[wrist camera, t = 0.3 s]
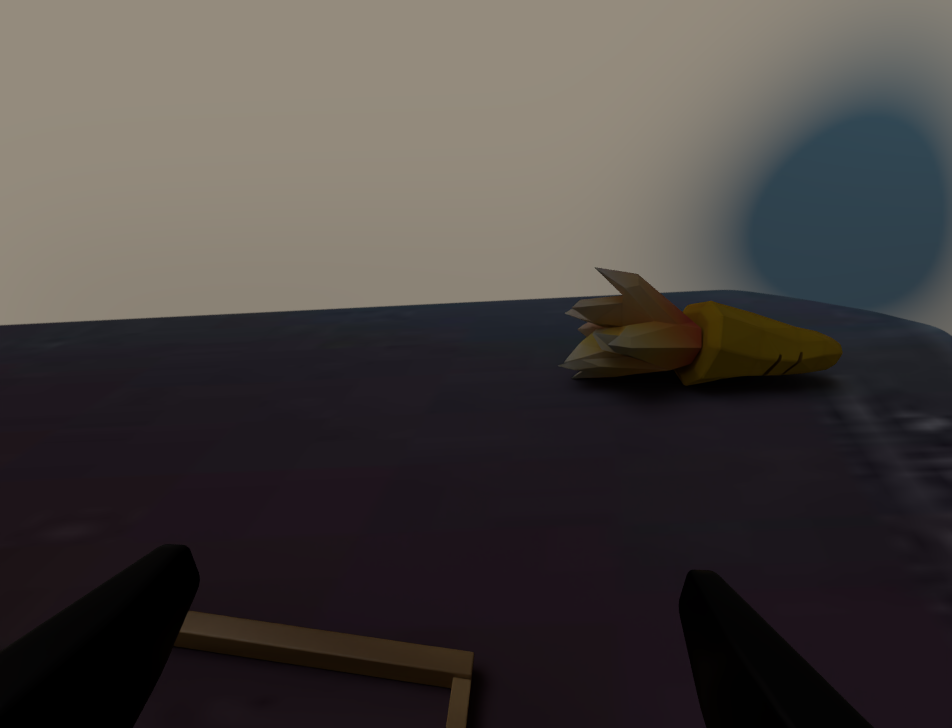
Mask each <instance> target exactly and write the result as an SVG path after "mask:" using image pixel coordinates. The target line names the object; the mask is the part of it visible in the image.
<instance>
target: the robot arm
mask: <svg viewBox="0 0 952 728" xmlns="http://www.w3.org/2000/svg"><path fill="white" fill-rule="evenodd" d="M199 581H200V576H199V572H198V569H197V567H196V564H195V561H194V559H193V556H192V553H191V551H190V549H189V548H188V547H187V546H186V545H174V544H166V545H162V546H160V547H158V548H156V549H155V550H153V551H152V552H150V553H149V554H147V555H146V556H144V557H143V558H141V559H140V560H138V561H137V562H135V563H134V564H132V565H131V566H129V567H128V568H126V569H125V570H123V571H121V572H120V573H118V574H117V575H115V576H114V577H112V578H111V579H109V580H108V581H106V582H105V583H103V584H102V585H100V586H99V587H97V588H96V589H94V590H93V591H91V592H90V593H88V594H87V595H85V596H84V597H82V598H80V599H79V600H77V601H76V602H74V603H73V604H71V605H70V606H68V607H67V608H65V609H64V610H62V611H61V612H59V613H58V614H56V615H55V616H53V617H52V618H50V619H49V620H47V621H46V622H44V623H42V624H41V625H39V626H38V627H36V628H35V629H33V630H32V631H30V632H29V633H27V634H26V635H24V636H23V637H21V638H20V639H18V640H17V641H15V642H14V643H12V644H11V645H9V646H8V647H6V648H5V649H3V650H1V651H0V728H133V726H134V724H135V723H136V721H137V719H138V717H139V715H140V713H141V711H142V710H143V708H144V706H145V704H146V702H147V700H148V698H149V697H150V695H151V693H152V691H153V689H154V687H155V685H156V683H157V681H158V679H159V677H160V675H161V673H162V671H163V669H164V666H165V664H166V662H167V660H168V658H169V655H170V653H171V651H172V648H173V646H174V644H175V641H176V639H177V637H178V634H179V632H180V630H181V627H182V625H183V623H184V620H185V618H186V616H187V613H188V611H189V609H190V606H191V604H192V602H193V599H194V597H195V594H196V592H197V590H198V587H199ZM679 614H680V619H681V623H682V628H683V632H684V637H685V641H686V646H687V650H688V655H689V659H690V664H691V668H692V673H693V677H694V682H695V686H696V691H697V695H698V699H699V703H700V707H701V711H702V714H703V718H704V721H705V724H706V728H874V727H873V726H872V725H871V724H870V723H869V722H868V721H866V720H865V719H864V718H863V717H862V716H861V715H860V714H859V713H858V712H857V711H856V710H855V709H854V708H853V707H852V706H851V705H850V704H849V703H848V702H847V701H846V700H845V699H844V698H843V697H842V696H841V695H840V694H839V693H838V692H837V691H836V690H835V689H834V688H833V687H832V686H831V685H830V684H829V683H828V682H827V681H826V680H825V679H824V678H823V677H822V676H821V675H820V674H819V673H818V672H817V671H816V670H815V669H814V668H813V667H812V666H811V665H810V664H809V663H808V662H807V661H806V660H804V659H803V658H802V657H801V656H800V655H799V654H798V653H797V652H796V651H795V650H794V649H793V648H792V647H791V646H790V645H789V644H788V643H787V642H786V641H785V640H784V639H783V638H782V637H781V636H780V635H779V634H778V633H777V632H776V631H775V630H774V629H773V628H772V627H771V626H770V625H769V624H768V623H767V622H766V621H765V620H764V619H763V618H762V617H761V616H760V615H759V614H758V613H757V612H756V611H755V610H754V609H753V608H752V607H751V606H750V605H749V604H748V603H747V602H746V601H745V600H744V599H743V598H741V597H740V596H739V595H738V594H737V593H736V592H735V591H734V590H733V589H732V588H731V587H730V586H729V585H728V584H727V583H726V582H725V581H724V580H723V579H722V578H721V577H720V576H719V575H718V574H717V573H715V572H713V571H709V570H691V571H689V572H688V574H687V576H686V579H685V583H684V586H683V589H682V592H681V596H680V599H679Z"/></svg>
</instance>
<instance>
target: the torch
mask: <svg viewBox="0 0 952 728" xmlns="http://www.w3.org/2000/svg"><path fill="white" fill-rule="evenodd" d="M596 269H597V270H598V271H599V272H600V273H601V274H602V275H603V276H604V277H605V278H606V279H607V280H608V281H609V282H610V283H611V284H612V285H613V286H614V287H615V288H616V289H617V290H618V291H619V292H620V293H621V294H622V296H612V297H603V298H594V299H585V300H579V301H578V302H577V303H576V304H575V305H574V306H573V307H572V308H573V309H571V310H569V311H568V312H566V313H565V314H568V315H570V316H573V317H576V318H579V319H581V320H584V321H587V323H586V324H584V325H583V326H581V327H580V328H578V329H577V330H579V331H580V332H581V333H582V334H584V335H585V336H586V337H587V338H586V339H584V340H583V341H582V342H581V343H580V344H579V345H578V346H577V347H576V348H575V350H574V351H573V352H572V353H571V354H570V356H569V357H568V358H567V359H566V361H565V363H566V364H562V365H558V366H560V367H564V368H568V369H572V370H579V371H580V372H579V373H577V374H576V375H575V376H573V377H572V378H601V377H618V376H626V375H633V374H641V373H650V372H659V371H668V370H672V369H673V370H674V371H675V373H676V374H677V376H678V377H679V379H680V380H681V382H682V384H683V385H685V386H688V385H694V384H699V383H705V382H710V381H715V380H719V379H726V378H732V377H740V376H761V375H764V376H766V375H790V374H802V373H808V372H814V371H820V370H826V369H828V368H830V367H832V366H833V365H835V364H836V363H837V361H838V360H839V358H840V357H841V355H842V348H841V345H840V344H839V343H838V342H837V341H835V340H834V339H832V338H830V337H828V336H826V335H824V334H822V333H819V332H817V331H813V330H808V329H803V328H798V327H794V326H791V325H788V324H785V323H782V322H779V321H776V320H773V319H770V318H767V317H764V316H761V315H758V314H755V313H752V312H748V311H745V310H741V309H737V308H734V307H730V306H727V305H723V304H720V303H716V302H713V301H708V302H702V303H696V304H690V305H688V306H686V308H685V309H684V311H683V312H682V311H680V310H679V309H678V308H677V307H676V306H675V305H673V304H672V303H671V302H670V301H669V300H668V299H666V298H665V297H664V296H663V295H662V294H660V293H659V292H658V291H657V290H655V288H653V287H652V286H651V285H650V284H649V283H648V282H646V281H645V280H644V279H643V278H642V277H641V276H639V275H638V274H634V273H628V272H622V271H615V270H609V269H602V268H596Z"/></svg>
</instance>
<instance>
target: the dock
mask: <svg viewBox="0 0 952 728" xmlns="http://www.w3.org/2000/svg"><path fill="white" fill-rule="evenodd" d="M174 646H176V647H183V648H190V649H196V650H203V651H209V652H216V653H222V654H229V655H236V656H242V657H249V658H255V659H262V660H268V661H275V662H282V663H288V664H295V665H301V666H308V667H314V668H321V669H328V670H334V671H341V672H347V673H354V674H360V675H367V676H374V677H380V678H387V679H393V680H400V681H406V682H413V683H420V684H426V685H433V686H439V687H446V688H451V695H450V702H449V709H448V716H447V723H446V728H466V725H467V716H468V707H469V698H470V689H471V680H472V671H473V661H474V653H473V652H468V651H461V650H455V649H448V648H441V647H434V646H427V645H420V644H414V643H407V642H400V641H393V640H386V639H379V638H373V637H366V636H359V635H352V634H345V633H338V632H332V631H325V630H318V629H311V628H304V627H297V626H291V625H284V624H277V623H270V622H263V621H256V620H250V619H243V618H236V617H229V616H222V615H215V614H209V613H202V612H195V611H188V613H187V616H186V618H185V620H184V623H183V625H182V627H181V630H180V632H179V634H178V637H177V639H176V641H175V644H174Z"/></svg>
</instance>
